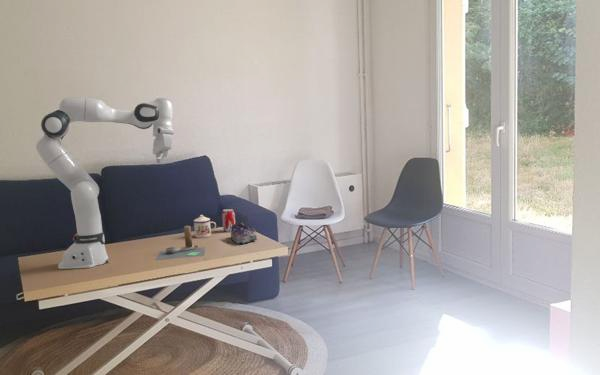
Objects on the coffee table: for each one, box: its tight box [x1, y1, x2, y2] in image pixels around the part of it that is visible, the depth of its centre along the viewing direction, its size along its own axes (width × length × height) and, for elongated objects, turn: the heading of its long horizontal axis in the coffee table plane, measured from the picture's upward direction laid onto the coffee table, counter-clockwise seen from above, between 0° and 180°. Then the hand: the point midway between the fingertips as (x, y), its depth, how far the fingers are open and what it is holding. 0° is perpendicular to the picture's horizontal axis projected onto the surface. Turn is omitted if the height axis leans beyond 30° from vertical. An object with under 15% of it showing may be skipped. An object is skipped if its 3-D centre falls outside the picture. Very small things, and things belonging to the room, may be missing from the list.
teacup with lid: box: [193, 214, 217, 239], centre depth 315 cm, size 12×9×12 cm
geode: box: [230, 220, 258, 245], centre depth 299 cm, size 20×12×10 cm, turn 29°
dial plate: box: [155, 246, 206, 261], centre depth 273 cm, size 22×17×2 cm
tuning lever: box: [165, 225, 199, 254], centre depth 276 cm, size 15×4×11 cm, turn 117°
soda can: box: [221, 208, 236, 233], centre depth 324 cm, size 7×7×12 cm
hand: (161, 161), depth 273 cm, fingers open, 8 cm apart
